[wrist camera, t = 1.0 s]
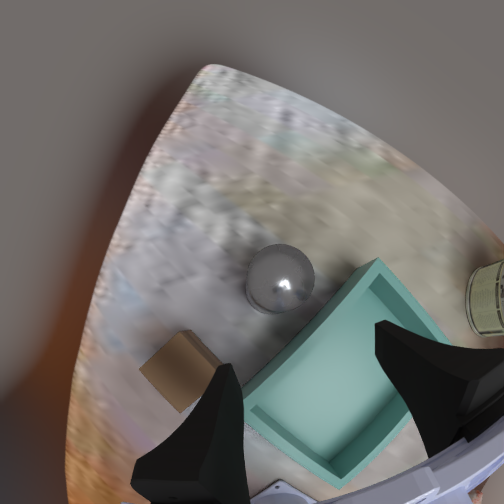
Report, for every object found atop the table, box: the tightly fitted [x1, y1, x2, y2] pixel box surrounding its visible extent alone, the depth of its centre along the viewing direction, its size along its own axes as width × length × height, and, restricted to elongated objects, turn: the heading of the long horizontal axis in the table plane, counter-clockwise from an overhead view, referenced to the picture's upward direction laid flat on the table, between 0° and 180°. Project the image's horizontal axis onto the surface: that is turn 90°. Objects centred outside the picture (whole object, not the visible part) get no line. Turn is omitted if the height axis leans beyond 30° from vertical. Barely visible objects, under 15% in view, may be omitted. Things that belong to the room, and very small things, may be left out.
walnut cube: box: [139, 330, 224, 413], centre depth 22 cm, size 5×5×5 cm
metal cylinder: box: [246, 244, 315, 314], centre depth 23 cm, size 5×5×7 cm
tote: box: [241, 257, 452, 489], centre depth 22 cm, size 18×14×5 cm
